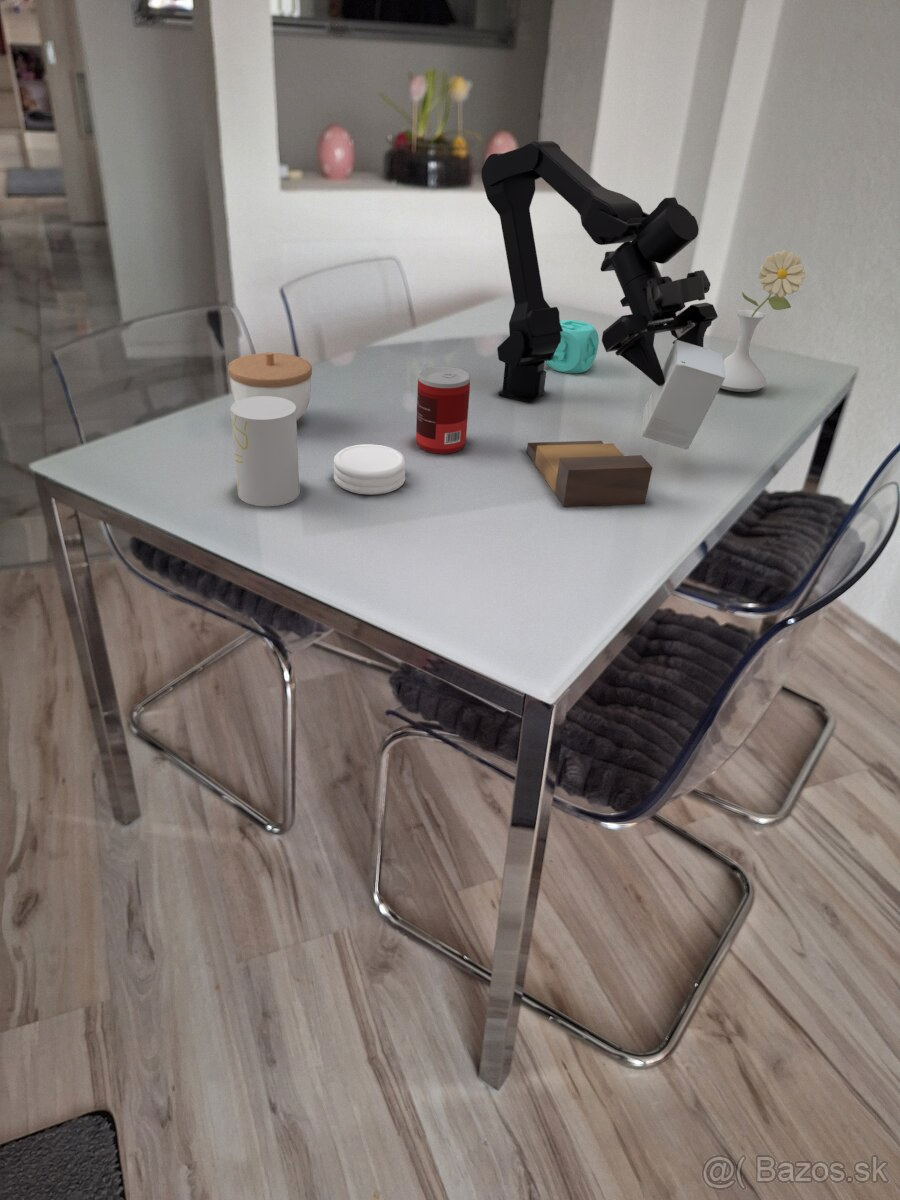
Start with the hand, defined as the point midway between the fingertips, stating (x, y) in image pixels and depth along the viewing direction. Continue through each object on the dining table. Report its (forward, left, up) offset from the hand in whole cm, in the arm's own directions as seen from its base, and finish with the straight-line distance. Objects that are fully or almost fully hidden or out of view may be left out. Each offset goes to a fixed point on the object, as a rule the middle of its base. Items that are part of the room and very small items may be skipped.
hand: (682, 380), depth 124 cm
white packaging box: (-1, +1, -8) cm, 8 cm away
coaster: (-34, -31, -13) cm, 47 cm away
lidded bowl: (-58, -22, -13) cm, 63 cm away
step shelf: (-9, -12, -13) cm, 20 cm away
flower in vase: (+1, +43, -13) cm, 45 cm away
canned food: (-32, -14, -13) cm, 37 cm away
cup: (-43, -42, -13) cm, 61 cm away
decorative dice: (-30, +34, -13) cm, 47 cm away
